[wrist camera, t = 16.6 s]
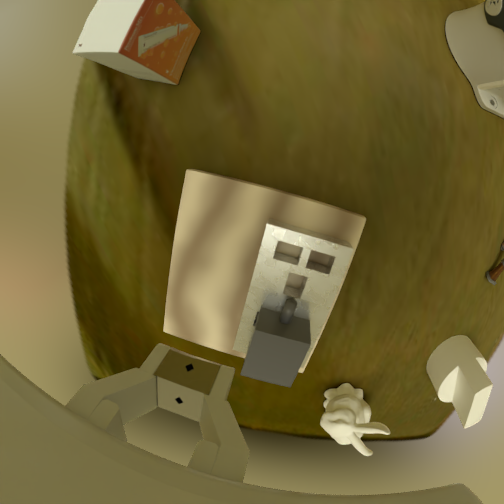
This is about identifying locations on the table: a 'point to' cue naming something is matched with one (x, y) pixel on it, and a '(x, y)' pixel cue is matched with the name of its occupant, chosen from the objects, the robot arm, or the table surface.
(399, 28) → the table surface
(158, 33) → the small box
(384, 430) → the rabbit
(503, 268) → the wooden post with brackets
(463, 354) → the cylinder with rectangular tab
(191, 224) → the board
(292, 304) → the plug
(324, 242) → the socket
